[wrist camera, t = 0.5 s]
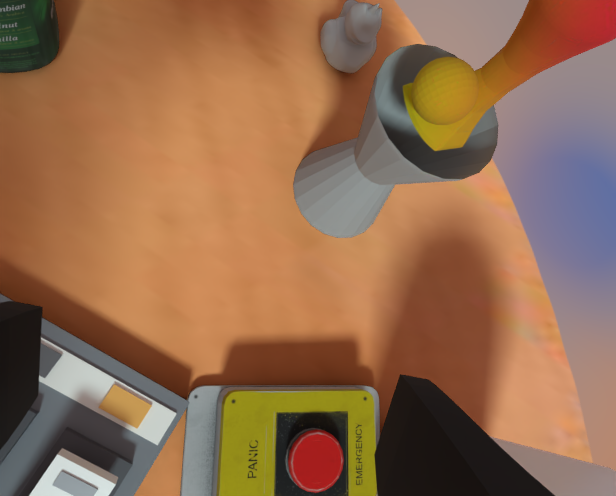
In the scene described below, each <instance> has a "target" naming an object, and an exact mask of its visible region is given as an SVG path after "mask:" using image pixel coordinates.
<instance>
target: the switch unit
mask: <svg viewBox="0 0 616 496" xmlns="http://www.w3.org/2000/svg"><path fill="white" fill-rule="evenodd" d="M7 301H13V300H11V299H9V298H8V297H6V296H4V295H2V294H1V293H0V303H1V302H7ZM14 302H15V301H14ZM189 403H190V402H189V401H187V400H186V399H184V398H182V397H181V396H179V395H177V394H175V393H174V392H172V391H170V390H168V389H167V388H165V387H163V386H161V385H160V384H158V383H156V382H154V381H153V380H151V379H149V378H147V377H146V376H144V375H142V374H140V373H139V372H137V371H135V370H133V369H132V368H130V367H128V366H126V365H125V364H123V363H121V362H119V361H118V360H116V359H114V358H113V357H111V356H109V355H107V354H106V353H104V352H102V351H100V350H99V349H97V348H95V347H93V346H92V345H90V344H88V343H86V342H85V341H83V340H81V339H79V338H78V337H76V336H74V335H72V334H71V333H69V332H67V331H65V330H64V329H62V328H60V327H58V326H57V325H55V324H53V323H51V322H50V321H48V320H46V319H44V318H43V317H42V326H41V348H40V369H39V391H38V397H37V398H36V400H35V401H34V403H33V404H32V406H31V408H30V409H29V411H28V412H27V414H26V415H25V417H24V418H23V420H22V421H21V423H20V424H19V425H18V427H17V428H16V430H15V431H14V433H13V434H12V435H11V437H10V438H9V440H8V441H7V442H6V444H5V445H4V446H3V447H2V448H1V450H0V496H29V495H30V494H31V492H32V491H33V489H34V488H35V486H36V485H37V483H38V482H39V480H40V479H41V478H42V476H43V475H44V473H45V472H46V470H47V469H48V467H49V466H50V464H51V463H52V462H53V460H54V459H55V457H56V456H57V454H58V453H59V452H60V450H61V449H62V448H63V449H65V450H67V451H69V452H71V453H73V454H75V455H77V456H79V457H80V458H82V459H84V460H86V461H88V462H90V463H92V464H94V465H96V466H98V467H100V468H102V469H104V470H105V471H107V472H109V473H111V474H113V475H115V476H117V477H118V480H117V483H116V485H115V487H114V488H113V490H112V491H111V493H110V494H109V496H134V494H135V493H136V491H137V489H138V488H139V486H140V484H141V483H142V481H143V479H144V478H145V476H146V474H147V473H148V471H149V469H150V468H151V466H152V464H153V463H154V461H155V460H156V458H157V456H158V455H159V453H160V451H161V450H162V448H163V446H164V445H165V443H166V441H167V440H168V438H169V436H170V435H171V433H172V431H173V430H174V428H175V426H176V425H177V423H178V421H179V420H180V418H181V416H182V415H183V413H184V411H185V410H186V408H187V406H188V405H189Z"/></svg>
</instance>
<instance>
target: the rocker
mask: <svg viewBox="0 0 616 496" xmlns="http://www.w3.org/2000/svg"><path fill="white" fill-rule="evenodd" d="M117 480H118V477H117V476H115V475H113V474H111V473H109V472H107V471H105V470H104V469H102V468H100V467H98V466H96V465H94V464H92V463H90V462H88V461H86V460H84V459H82V458H80V457H79V456H77V455H75V454H73V453H71V452H69V451H67V450H65V449H63V448H62V449H61V450H60V452H59V453H58V454H57V456H56V457H55V459H54V460H53V462H52V463H51V464H50V466H49V467H48V469H47V470H46V472H45V473H44V475H43V476H42V478H41V479H40V480H39V482H38V483H37V485H36V486H35V488H34V489H33V491H32V492H31V494H30V495H29V496H109V494H110V493H111V491H112V490H113V488H114V487H115V485H116V483H117Z"/></svg>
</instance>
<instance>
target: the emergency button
mask: <svg viewBox="0 0 616 496" xmlns="http://www.w3.org/2000/svg"><path fill="white" fill-rule="evenodd" d="M187 401H189V402H190V403H189V405H188V406H187V411H186V425H185V438H184V451H183V464H182V477H181V491H180V496H376V494H377V483H376V470H375V456H374V454H375V451H376V448H377V444H378V441H379V438H380V415H379V396H378V393H377V391H376V390H375V389H374V388H373V387H369V386H364V385H204V386H199V387H196V388H195V389H193V390H192V391H191V392H190V394H189V396H188V399H187Z"/></svg>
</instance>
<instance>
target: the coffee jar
mask: <svg viewBox="0 0 616 496" xmlns="http://www.w3.org/2000/svg"><path fill="white" fill-rule="evenodd" d="M58 49H59V29H58V20H57V14H56V9H55V3H54V0H0V73H15V72H26V71H31V70H36V69H39V68H42V67H44V66H46V65H47V64H49V63H50V62H51V61H52V60H53V59H54V58H55V56H56V55H57V53H58Z"/></svg>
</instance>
